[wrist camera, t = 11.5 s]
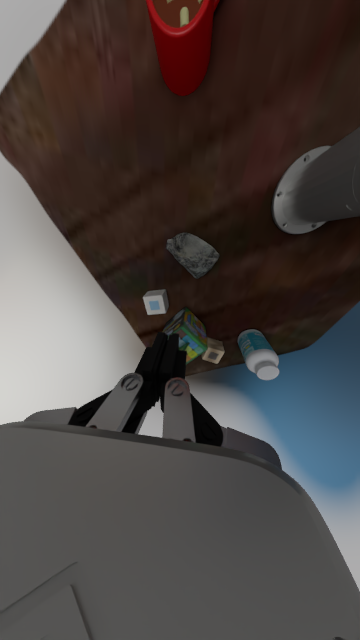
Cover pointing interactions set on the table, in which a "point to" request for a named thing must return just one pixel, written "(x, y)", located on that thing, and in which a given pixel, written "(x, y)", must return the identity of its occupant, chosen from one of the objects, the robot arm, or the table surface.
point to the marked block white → (156, 302)
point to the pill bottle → (258, 354)
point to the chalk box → (188, 333)
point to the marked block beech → (213, 351)
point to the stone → (192, 253)
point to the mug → (182, 40)
